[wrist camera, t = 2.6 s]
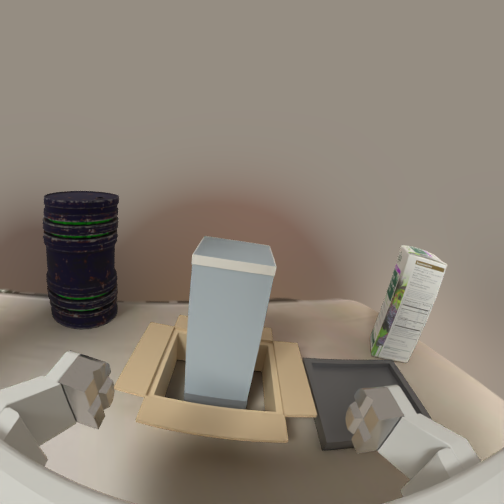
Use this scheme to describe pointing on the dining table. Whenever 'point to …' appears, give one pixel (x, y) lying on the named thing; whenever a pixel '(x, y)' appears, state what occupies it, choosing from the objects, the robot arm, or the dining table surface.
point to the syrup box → (407, 304)
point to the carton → (213, 417)
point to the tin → (226, 319)
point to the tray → (348, 393)
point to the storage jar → (81, 257)
